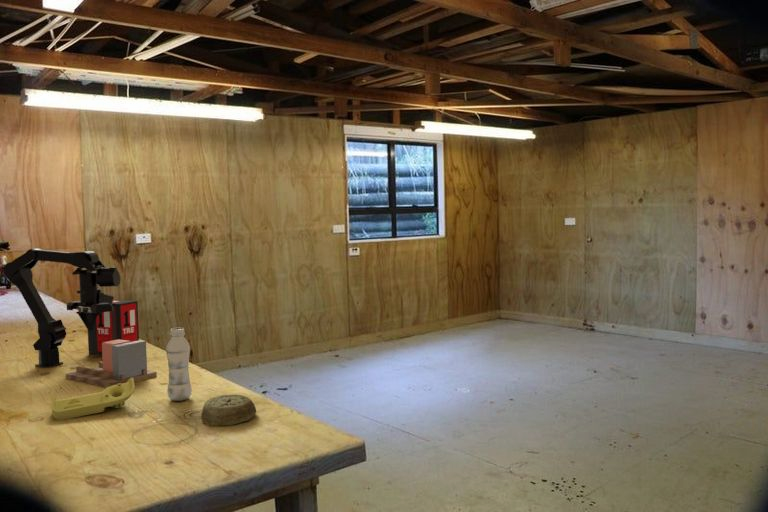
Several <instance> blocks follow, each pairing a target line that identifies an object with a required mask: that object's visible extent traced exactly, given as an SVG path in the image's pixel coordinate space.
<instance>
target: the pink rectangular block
mask: <svg viewBox="0 0 768 512" xmlns="http://www.w3.org/2000/svg"><path fill="white" fill-rule="evenodd" d="M128 342H130V341H127V340H120V339H118V340H113V341H108V342H103V343H102V357H101V358H102V362H103V371H107V372H112V373H113V363H112V346H113V345H118V344H123V343H128Z"/></svg>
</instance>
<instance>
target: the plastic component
mask: <svg viewBox="0 0 768 512" xmlns="http://www.w3.org/2000/svg"><path fill="white" fill-rule="evenodd" d="M135 387H136V386H135V382H134V378H130V379H129V380H128V381H127V383H123V384H121V383H119V384H117V385H113V386H110V387H105V389H103V391H99V392H95V393H89V394H84V395H79V396H73V397H68V398H63V399H57V396H56V392H55V391H52V392H51V400H50V401H51V402H50V403H51V404H50V408H51V413H52V416H53V418H54V419H55V420H58V419H62V420H68V419H69V420H70V419H74V418H78V417H84V416H89V415H94V414H99V413H103V412H104V411H105V408H108V407H112V408H115V409H118V408H121V409H122V408H123V406H125V405H126V401H127V400H129V399H130V398H131V396H132V395H133V393H134V392H135Z"/></svg>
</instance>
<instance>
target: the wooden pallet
mask: <svg viewBox="0 0 768 512" xmlns="http://www.w3.org/2000/svg"><path fill="white" fill-rule="evenodd" d="M75 368H76V371H73V372H69V373H66V374H65V378H66V379H67V380H71V381H77V382H81V383H86V384H90V385H96V386H100V387H104V388H108V387H110V386H113V385H117V384H119V383H121V384H123V383H127V381H128V380H129V379H130V378H128V379H125V375H121V380H120V381H118V380H113V373H112V372H107V371H103V361H99V362H98V366H95V367H91V368H90V367H85V366H76V367H75ZM157 376H158V374H157V371H155V370H150V369H149V370H148V368H147V369H145V370H143V375H139V376H136V377H132V378H134V383H137V382H141V381H144V380H148V379H151V378H155V377H157Z"/></svg>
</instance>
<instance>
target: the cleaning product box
mask: <svg viewBox="0 0 768 512" xmlns="http://www.w3.org/2000/svg"><path fill="white" fill-rule="evenodd" d="M112 305H113V311H109V312H102V313H100V314H99V315H98V316H97V318H96V321H95V324H94V327H93V331H88V330H87V342H88V343H87V344H88V346H87V348H88V355H89V356H91V355H93V356H102V343H103V342H108V341H113V340H118V339H120V340H127V341H130V342H133V341H138V340H140V331H139V309H138V308H139V307H138V306H139V305H138V300H123V299H122V300H121V299H120V300H119V299H113V302H112Z"/></svg>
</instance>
